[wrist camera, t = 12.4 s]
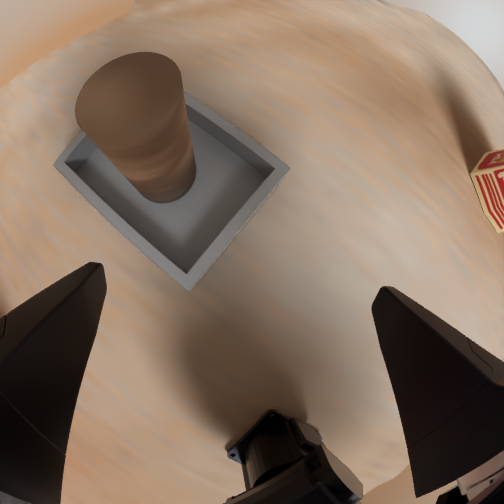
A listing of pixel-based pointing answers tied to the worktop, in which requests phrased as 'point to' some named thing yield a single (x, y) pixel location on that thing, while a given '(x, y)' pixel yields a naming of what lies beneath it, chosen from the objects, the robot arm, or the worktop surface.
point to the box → (191, 204)
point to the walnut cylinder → (141, 123)
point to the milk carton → (491, 186)
